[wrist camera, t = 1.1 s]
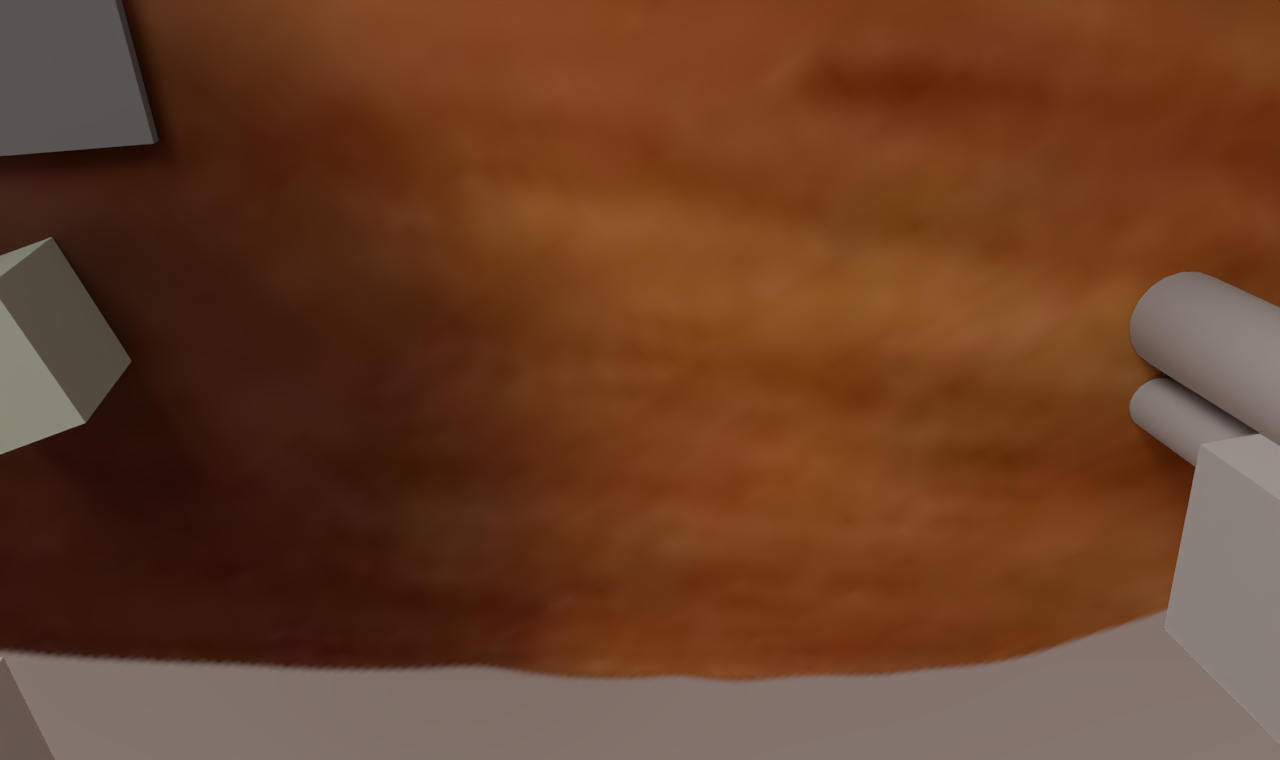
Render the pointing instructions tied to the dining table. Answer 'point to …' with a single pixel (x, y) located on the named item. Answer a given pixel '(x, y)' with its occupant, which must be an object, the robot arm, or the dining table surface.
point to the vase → (1206, 363)
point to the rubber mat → (69, 78)
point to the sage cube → (50, 347)
